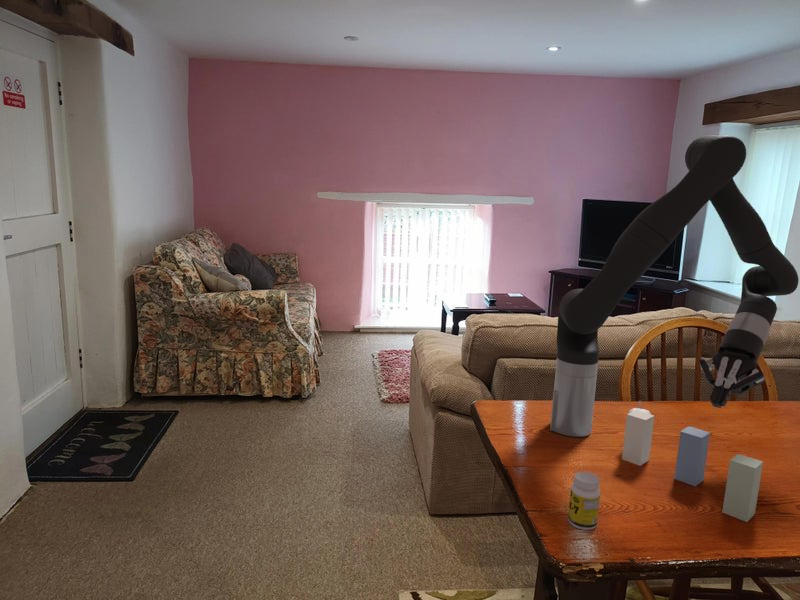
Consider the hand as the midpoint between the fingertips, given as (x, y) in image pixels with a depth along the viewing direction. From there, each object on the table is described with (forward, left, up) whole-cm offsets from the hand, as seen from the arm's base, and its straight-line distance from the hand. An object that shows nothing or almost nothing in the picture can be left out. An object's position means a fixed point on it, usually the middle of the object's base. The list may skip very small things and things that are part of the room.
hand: (716, 405), depth 121 cm
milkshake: (-14, +4, -13) cm, 20 cm away
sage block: (+2, -19, -13) cm, 23 cm away
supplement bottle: (-25, -32, -13) cm, 43 cm away
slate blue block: (-5, -8, -13) cm, 16 cm away
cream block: (-14, -3, -13) cm, 20 cm away
